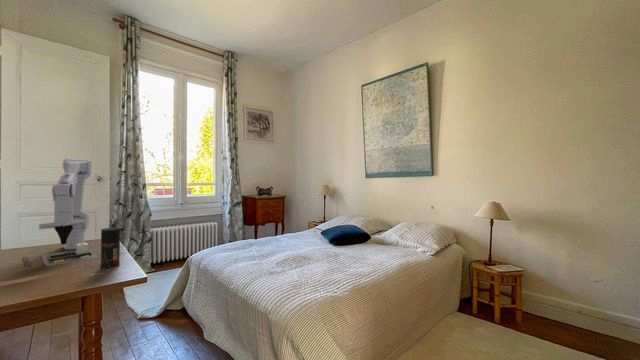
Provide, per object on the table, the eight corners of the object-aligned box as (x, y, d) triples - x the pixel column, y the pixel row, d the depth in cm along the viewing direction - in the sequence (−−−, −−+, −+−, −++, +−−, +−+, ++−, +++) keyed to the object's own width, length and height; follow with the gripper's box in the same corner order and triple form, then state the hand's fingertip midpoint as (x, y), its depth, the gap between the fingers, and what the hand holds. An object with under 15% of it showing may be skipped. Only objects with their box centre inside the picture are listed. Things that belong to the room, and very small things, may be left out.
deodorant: (111, 269, 106) (112, 230, 106) (96, 268, 106) (97, 230, 106) (123, 264, 112) (123, 227, 112) (108, 263, 112) (109, 227, 112)
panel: (40, 258, 117) (40, 253, 117) (88, 250, 129) (88, 246, 129) (46, 269, 104) (46, 263, 104) (99, 259, 117) (99, 255, 116)
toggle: (75, 254, 120) (76, 243, 120) (86, 252, 122) (86, 242, 122) (77, 256, 117) (77, 244, 117) (88, 254, 120) (88, 243, 120)
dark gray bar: (22, 260, 113) (22, 257, 113) (27, 260, 114) (27, 256, 114) (25, 270, 103) (25, 266, 103) (30, 269, 104) (30, 265, 104)
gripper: (40, 214, 107) (40, 249, 107) (88, 211, 118) (87, 242, 118) (38, 212, 111) (38, 245, 112) (84, 209, 122) (84, 239, 123)
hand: (63, 243), depth 115 cm, fingers closed
